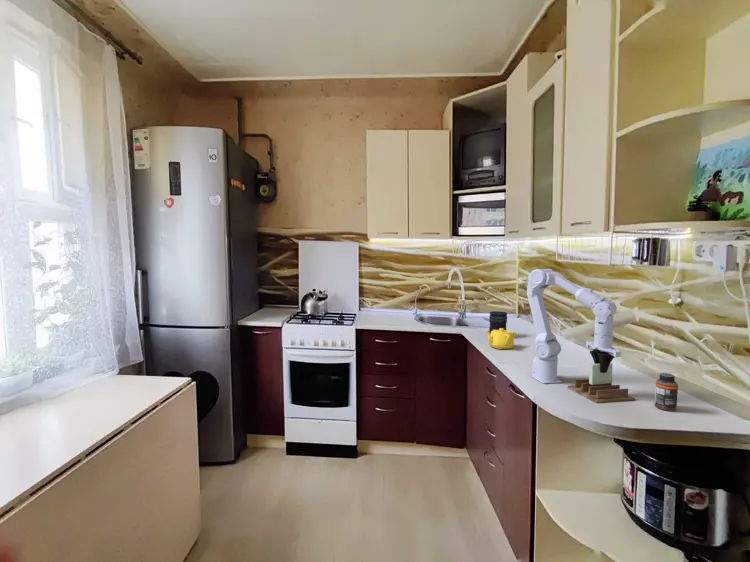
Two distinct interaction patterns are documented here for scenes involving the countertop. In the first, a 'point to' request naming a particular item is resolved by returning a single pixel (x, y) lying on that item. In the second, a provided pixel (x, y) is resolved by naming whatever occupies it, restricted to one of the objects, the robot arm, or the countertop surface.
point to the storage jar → (497, 320)
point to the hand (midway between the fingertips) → (601, 371)
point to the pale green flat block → (599, 374)
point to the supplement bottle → (666, 392)
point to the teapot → (501, 338)
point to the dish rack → (601, 391)
